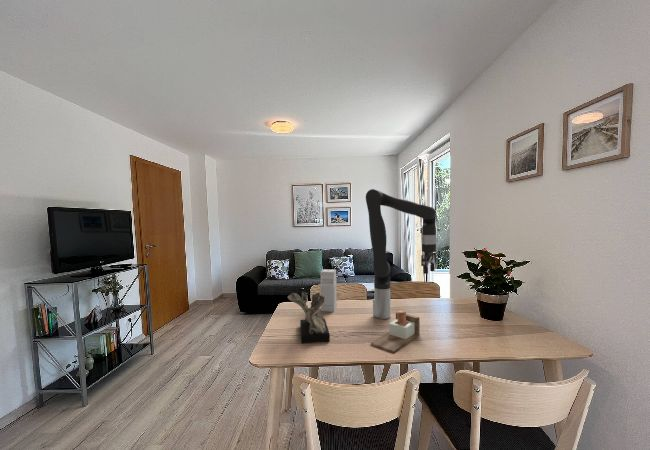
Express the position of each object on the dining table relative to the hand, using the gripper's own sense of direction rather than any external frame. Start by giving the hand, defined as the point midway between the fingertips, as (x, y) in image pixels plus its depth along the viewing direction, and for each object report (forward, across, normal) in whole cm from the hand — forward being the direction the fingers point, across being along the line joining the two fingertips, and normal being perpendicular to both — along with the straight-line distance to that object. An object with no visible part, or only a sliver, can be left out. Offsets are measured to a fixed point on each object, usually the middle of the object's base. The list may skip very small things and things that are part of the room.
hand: (429, 272), depth 155 cm
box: (+28, +19, -58) cm, 67 cm away
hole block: (+27, +25, -3) cm, 37 cm away
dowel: (+26, +26, -3) cm, 37 cm away
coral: (+28, +55, -39) cm, 73 cm away
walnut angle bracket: (+28, +31, -3) cm, 42 cm away
